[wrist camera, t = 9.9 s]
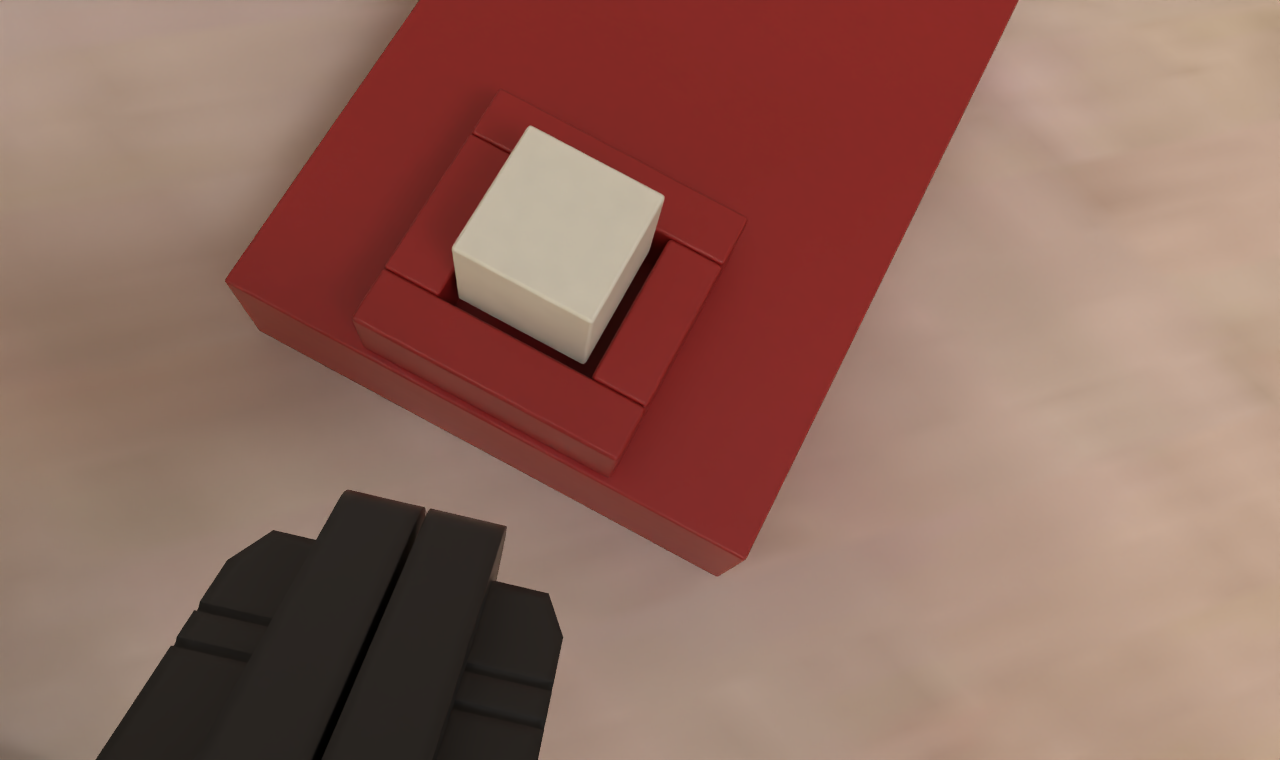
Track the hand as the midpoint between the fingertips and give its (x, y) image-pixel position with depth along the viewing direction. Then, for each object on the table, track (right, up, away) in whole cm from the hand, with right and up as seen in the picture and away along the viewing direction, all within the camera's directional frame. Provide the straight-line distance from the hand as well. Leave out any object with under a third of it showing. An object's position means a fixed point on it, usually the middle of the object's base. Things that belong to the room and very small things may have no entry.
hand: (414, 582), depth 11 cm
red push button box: (+2, +7, +17) cm, 19 cm away
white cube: (0, +4, +12) cm, 12 cm away
